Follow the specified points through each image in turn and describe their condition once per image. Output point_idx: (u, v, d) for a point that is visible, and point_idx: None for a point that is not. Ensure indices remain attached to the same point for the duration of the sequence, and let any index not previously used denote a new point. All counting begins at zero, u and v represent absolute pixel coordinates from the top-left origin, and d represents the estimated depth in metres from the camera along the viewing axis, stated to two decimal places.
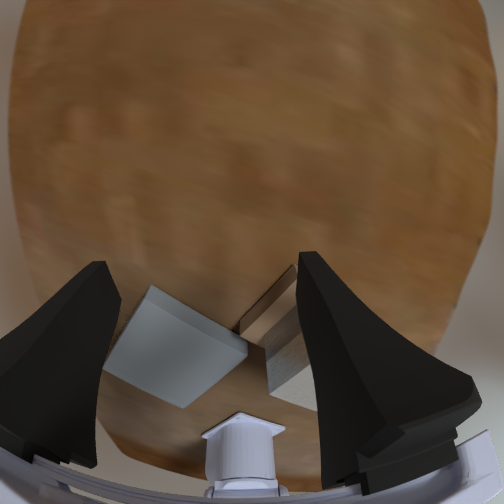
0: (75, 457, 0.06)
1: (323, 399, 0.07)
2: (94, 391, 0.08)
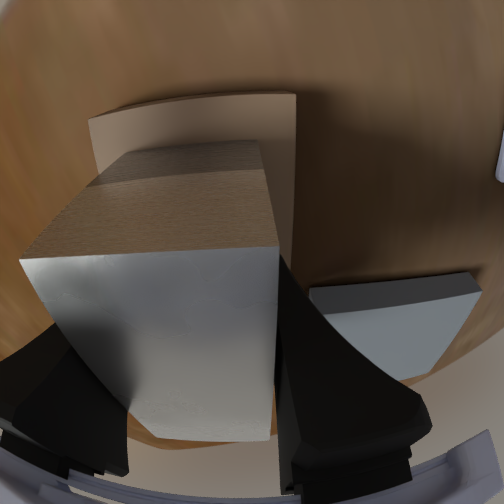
0: (108, 466, 0.06)
1: (277, 404, 0.07)
2: None
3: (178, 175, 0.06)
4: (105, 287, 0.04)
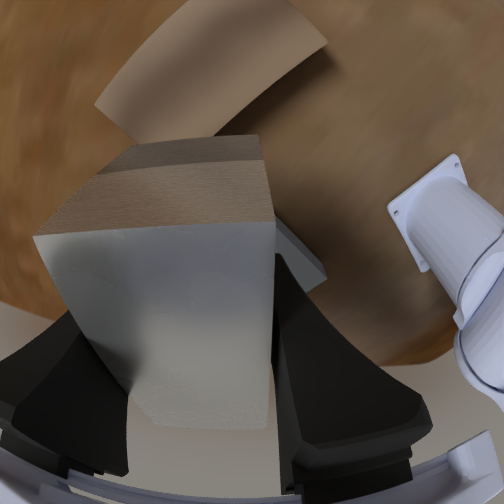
0: (107, 466, 0.06)
1: (278, 404, 0.07)
2: (125, 396, 0.08)
3: (184, 165, 0.07)
4: (114, 261, 0.04)
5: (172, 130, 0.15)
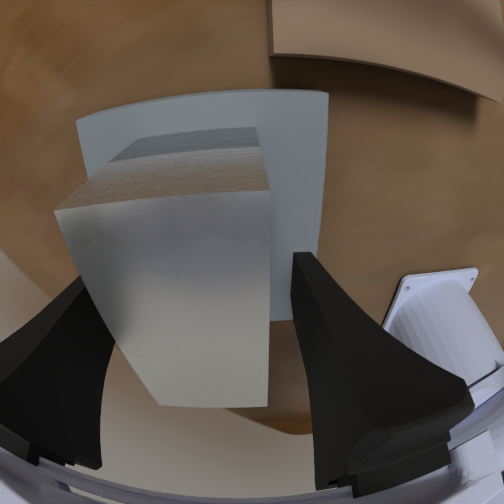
0: (80, 458, 0.06)
1: (316, 400, 0.07)
2: (99, 392, 0.08)
3: (189, 152, 0.07)
4: (130, 230, 0.05)
5: (327, 11, 0.07)
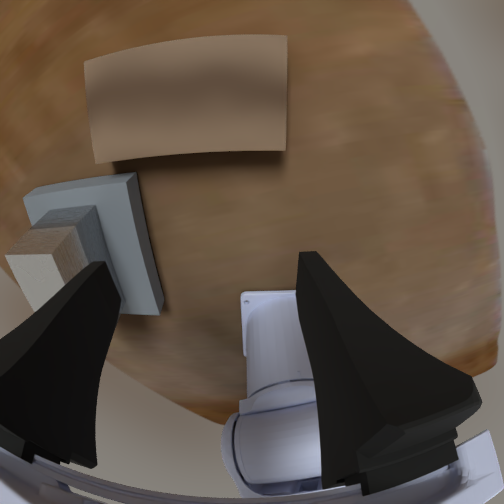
0: (75, 457, 0.06)
1: (323, 399, 0.07)
2: (94, 391, 0.08)
3: (53, 228, 0.15)
4: (24, 263, 0.12)
5: (117, 130, 0.14)
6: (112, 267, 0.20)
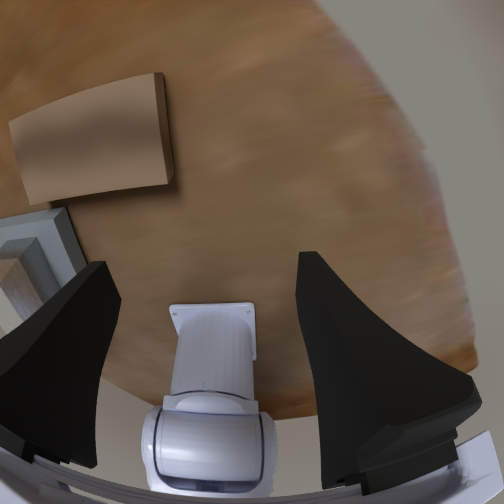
0: (75, 457, 0.06)
1: (323, 399, 0.07)
2: (94, 391, 0.08)
3: (5, 259, 0.16)
4: None
5: (39, 178, 0.15)
6: (58, 286, 0.21)
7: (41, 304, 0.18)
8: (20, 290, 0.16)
